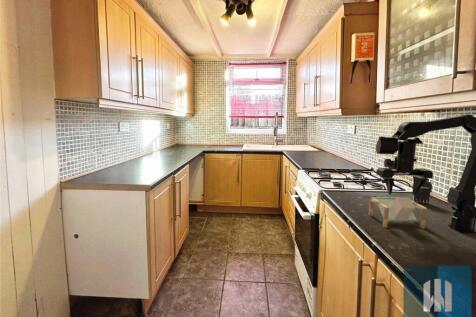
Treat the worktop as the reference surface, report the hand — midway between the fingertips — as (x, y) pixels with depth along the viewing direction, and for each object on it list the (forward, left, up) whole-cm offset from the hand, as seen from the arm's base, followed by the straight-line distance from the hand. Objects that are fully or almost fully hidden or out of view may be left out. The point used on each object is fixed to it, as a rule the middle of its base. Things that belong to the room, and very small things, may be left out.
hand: (401, 194), depth 106 cm
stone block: (0, -1, -8) cm, 8 cm away
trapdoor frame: (0, -2, -12) cm, 12 cm away
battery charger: (-26, -27, -12) cm, 39 cm away
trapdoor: (0, -3, -7) cm, 8 cm away
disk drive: (-10, -26, -13) cm, 30 cm away
